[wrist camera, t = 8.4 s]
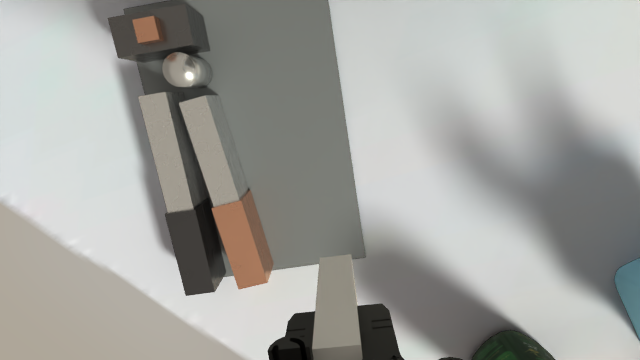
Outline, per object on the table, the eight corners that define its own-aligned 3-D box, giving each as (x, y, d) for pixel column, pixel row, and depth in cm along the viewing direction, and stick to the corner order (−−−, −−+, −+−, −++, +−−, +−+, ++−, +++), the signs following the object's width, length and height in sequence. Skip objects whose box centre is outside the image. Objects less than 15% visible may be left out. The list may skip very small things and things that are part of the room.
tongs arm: (179, 62, 36) (157, 57, 32) (207, 54, 36) (189, 47, 32) (248, 270, 41) (237, 292, 36) (273, 263, 41) (266, 285, 36)
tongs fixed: (135, 27, 36) (101, 15, 31) (203, 15, 36) (180, 1, 30) (197, 276, 41) (177, 303, 36) (256, 268, 41) (245, 294, 36)
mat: (125, 10, 36) (123, 9, 36) (323, -27, 35) (323, -29, 34) (193, 279, 42) (191, 281, 41) (365, 255, 41) (365, 257, 40)
